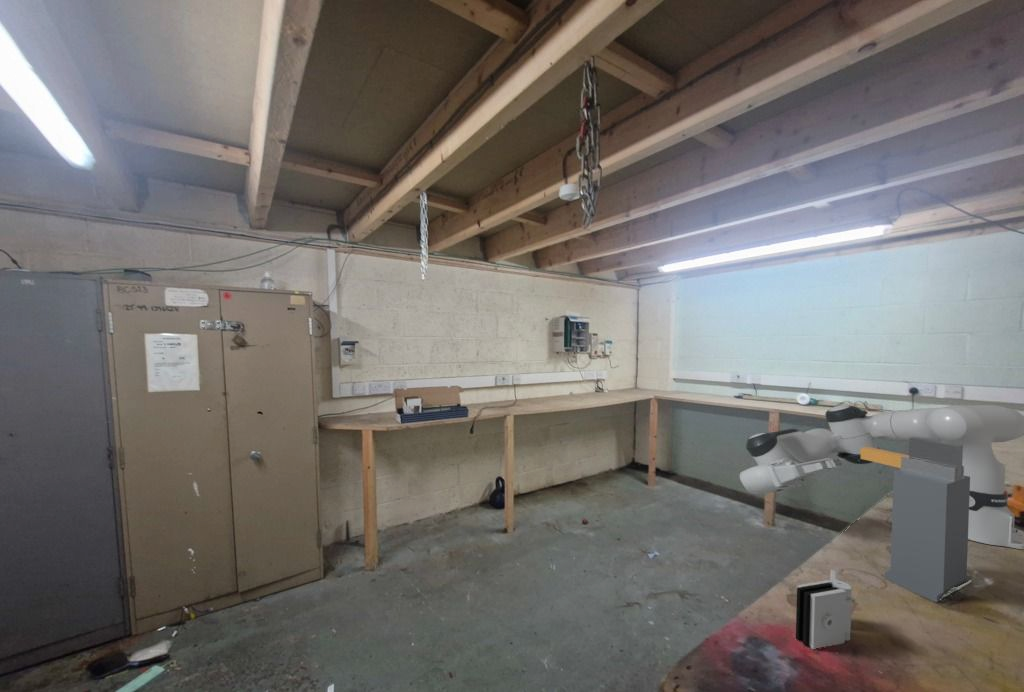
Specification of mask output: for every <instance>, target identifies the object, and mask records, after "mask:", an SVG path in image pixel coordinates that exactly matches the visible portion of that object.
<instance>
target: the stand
mask: <svg viewBox="0 0 1024 692" xmlns="http://www.w3.org/2000/svg"><path fill="white" fill-rule="evenodd" d="M955 479H956V468H952V467H947V466H943V465H938V464H933V463H929V462H924V461H919V460H915V459H910V458H906V457H901V468H899V469H896V470H894V471H893V479H892V480H893V481H892V508H891V509H892V510H891V511H892V512H891V513H892V515H891V540H890V541H891V542H890V543H891V544H890V545H891V546H890V569H889V570H887V571H884V572H883V579H884V580H886V581H888V582H890V583H892V584H895V585H897V586H899V587H901V588H904V589H906V590H908V591H910V592H913V593H914V594H917V595H919V596H921V597H924V598H925V599H928V600H930V601H932V602H933V603H934V602H935V603H939V602H941V600H940V599H941V598H942V596H943V595H944V594H945V593H947V592H948V591H949V590H950V589H951V588H953V587H958V586H960V585H962V584H964V583H966V582H968V581H969V580H971V579H972V580H973V576H972V575H969V574H968V548H969V546H968V545H969V539H968V523H969V496H970V477H968V476H964V466H962V480H959V481H955Z"/></svg>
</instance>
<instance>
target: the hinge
mask: <svg viewBox="0 0 1024 692" xmlns="http://www.w3.org/2000/svg"><path fill="white" fill-rule="evenodd" d="M829 572H830V575H829V579H828V580H827V579H826V580H819V581H815V582H809V583H808V582H807V583H803V584H798V585H797V588H796V612H795V613H796V616H795V618H796V620H795V640H796V639H797V640H796V641H798V640H803V641H802V645H803V644H804V645H805V646H808V647H809V646H810V647H809V648H811V649H812V650H813V649H814V650H817V649H816V648H819V649H821V648H820V647H824V648H827V647H826V646H828V647H832V645H833V646H836V645H837V646H838V645H841V644H845V642H846V641H850V640H851V627H852V625H851V624H852V590H853V589H852V586H851V585H850V584H849V583H847V582H845V581H842V580H839V579H837V575H836V574H837V571H836V570H834V569H830V571H829ZM804 645H803V646H804ZM805 646H804V647H805Z"/></svg>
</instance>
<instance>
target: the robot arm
mask: <svg viewBox="0 0 1024 692" xmlns="http://www.w3.org/2000/svg"><path fill="white" fill-rule="evenodd" d="M824 413H825V414H824V415H825V418H826V422H827V423H828V426H829V428H830V430H829V429H827V428H820V427H819V428H812V429H809V430H806V431H804V432H803V431H801V430H798V429H797V428H787V429H781V430H778V431H772V432H761V433H756V434H753V435H751V436H750V437H749V438H747V440H746V446H745V449H746V450H747V451H748V453H749V454H750V456H752V458H753V459H754V461H755V463H756V465H755V466H751V467H749V468H747V469H744V470H742V471H740V473H739V481H740V483H741V485H742V486H743V488H744V489H745V491H746V492H748V493H749V494H753V495H759V494H770V493H774V492H781V491H785V490H791V489H796V488H801V487H802V486H803V485H804V482H805V481H806V480H807V479H806V478H807V477H809V476H815V475H817V474H819V475H820V474H822V473H826V472H827V473H828V472H831V471H832V472H833V471H835V470H837V469H838V466H844V465H845V461H847V462H849V463H852V464H855V465H869V464H872V463H874V462H873V461H868V460H864V459H861V448H862V447H872V448H876V449H880V448H879V447H878V443H877V442H876V439H878V440H882V441H886V442H887V441H888V442H894V443H895V442H896V443H897V442H898V443H909V438H911V437H920V438H926V439H931V440H937V441H943V442H948V443H954V444H960V445H963V459H962V466H964V476H968V477H970V496H969V523H968V541H973V542H977V543H981V544H986V545H992V546H997V547H998V546H999V547H1007V548H1010V549H1011V548H1013V549H1015V550H1016V549H1017V550H1024V530H1022V529H1018V528H1017V527H1015V514H1014V513H1013V512H1012V511H1011V510H1010V508H1009V507H1008V495H1009V494H1008V493H1009V492H1008V490H1005V483H1006V482H1005V481H1006V467H1005V465H1004V463H1002V462H1001V461H1000V460H999V459H998V458H997V457H996V455H995V452H994V450H993V447H992V443H1006V442H1009V441H1013V440H1016V439H1020V438H1022V437H1024V414H1022V413H1021V412H1019V411H1018V410H1015V409H1013V408H1010V407H1005V406H1000V405H993V404H983V405H982V404H972V405H971V404H968V405H967V404H962V405H961V404H959V405H958V404H957V405H955V404H953V405H948V406H943V407H927V408H913V409H902V410H891V411H885V412H880V413H876V414H873V415H867V414H868V413H869V412H868V411H867V410H862V409H861V408H859V407H857V406H853V405H848V404H847V405H845V404H841V405H835V406H834V407H831V408H829V409H828V410H826V412H824ZM875 438H876V439H875ZM782 445H783V446H784V447H785V448H786V449H787V450H788V452H789V453H790V454H791V455H792V457H794V459H796V460H797V461H799V462H800V463H799V462H797V461H795V460H792V459H791V458H790V457H789V456H788V454H787V453H786V452H785V450H784V448H783V446H782ZM835 453H837V454H836V456H837V457H838V458H836V459H833V458H832V457H831V456H832V455H834V454H835ZM844 460H845V461H844Z"/></svg>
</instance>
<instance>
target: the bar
mask: <svg viewBox="0 0 1024 692" xmlns="http://www.w3.org/2000/svg"><path fill="white" fill-rule="evenodd" d="M908 443H909V444H908V454H905V453H899V452H896V451H892V450H891V451H890V450H885V449H881V448H879V449H876V448H872V447H862V448H861V459H864V460H868V461H873V463H877V464H882V465H887V466H890V467H893V468H894V467H895V468H898V469H901V457H906V458H910V459H915V460H919V461H924V462H929V463H933V464H938V465H943V466H947V467H952V468H956V479H955V481H959V480H962V459H963V445H960V444H954V443H948V442H943V441H937V440H931V439H926V438H920V437H911V438H909V442H908Z"/></svg>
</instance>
